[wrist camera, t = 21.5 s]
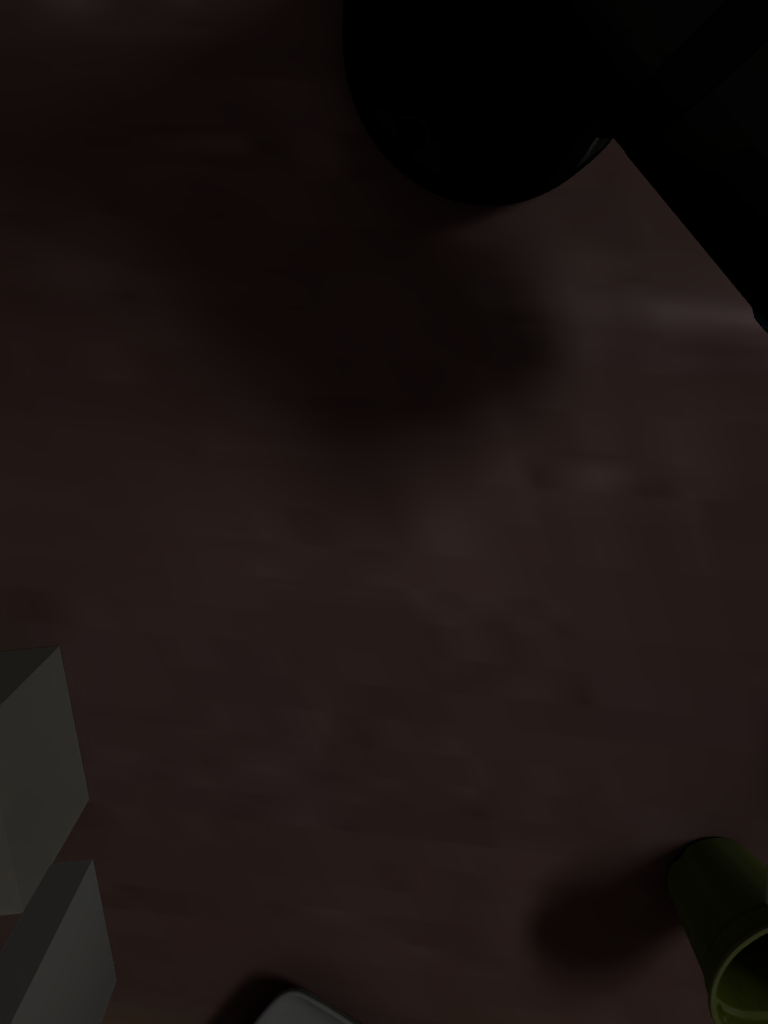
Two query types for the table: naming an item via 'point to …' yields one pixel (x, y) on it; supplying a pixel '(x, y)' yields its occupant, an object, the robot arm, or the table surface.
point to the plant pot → (725, 925)
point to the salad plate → (301, 1010)
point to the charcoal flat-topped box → (35, 771)
